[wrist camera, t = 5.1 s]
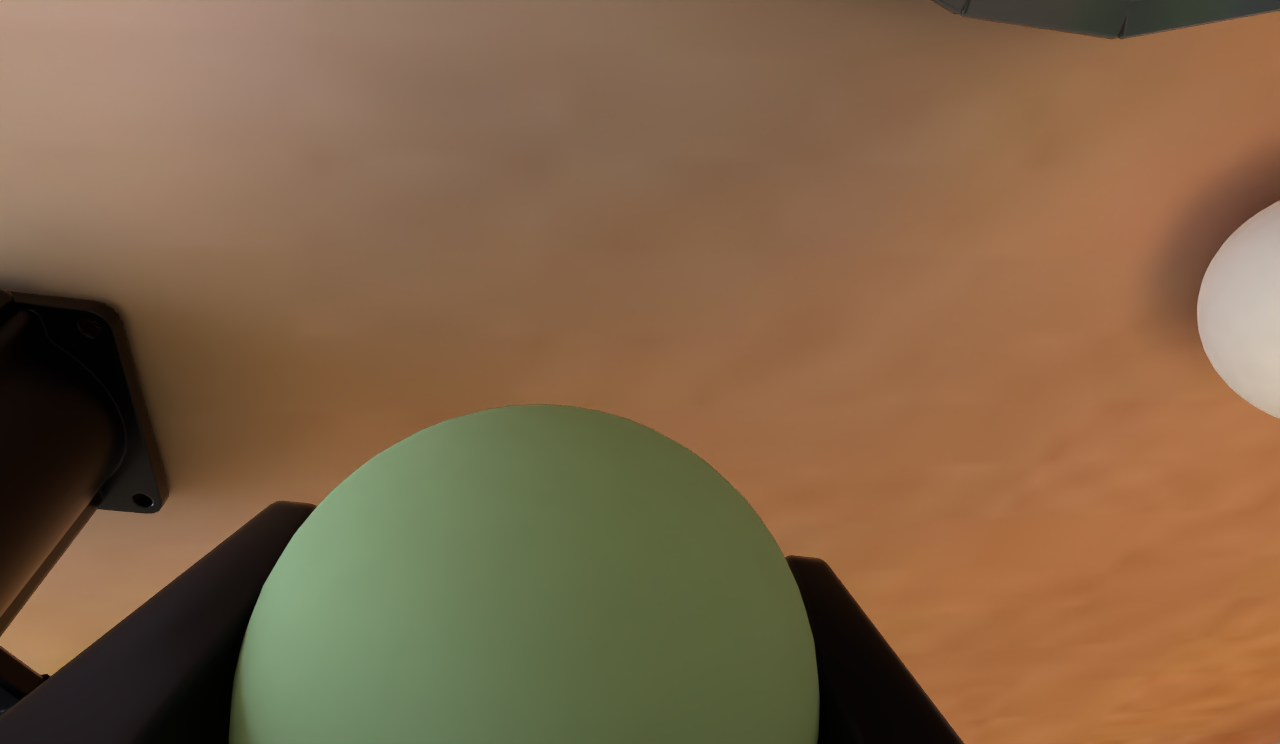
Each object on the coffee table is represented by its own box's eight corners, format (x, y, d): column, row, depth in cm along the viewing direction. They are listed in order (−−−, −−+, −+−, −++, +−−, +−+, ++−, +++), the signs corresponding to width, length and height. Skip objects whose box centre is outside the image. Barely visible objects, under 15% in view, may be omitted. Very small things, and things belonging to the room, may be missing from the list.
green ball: (730, 642, 11) (775, 1138, 7) (355, 605, 11) (172, 1105, 7) (832, 335, 8) (1014, 877, 4) (325, 269, 8) (-32, 793, 4)
